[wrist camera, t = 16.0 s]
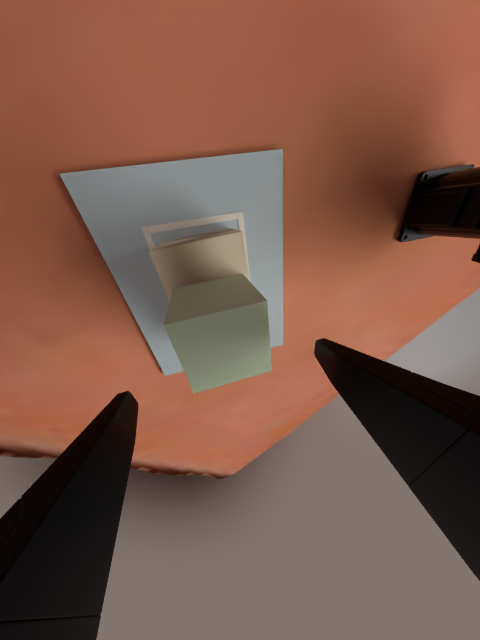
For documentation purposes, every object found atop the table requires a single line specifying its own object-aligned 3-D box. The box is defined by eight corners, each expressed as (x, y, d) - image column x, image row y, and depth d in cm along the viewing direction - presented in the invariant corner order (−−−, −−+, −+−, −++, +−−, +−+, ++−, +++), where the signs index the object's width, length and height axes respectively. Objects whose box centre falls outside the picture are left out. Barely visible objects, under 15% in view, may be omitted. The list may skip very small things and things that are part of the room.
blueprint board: (279, 151, 14) (283, 148, 14) (281, 342, 25) (283, 345, 24) (64, 175, 12) (58, 173, 12) (165, 372, 23) (165, 376, 22)
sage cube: (242, 273, 13) (267, 300, 9) (250, 329, 15) (271, 370, 11) (173, 288, 12) (163, 325, 8) (193, 343, 15) (194, 393, 11)
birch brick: (228, 227, 16) (242, 231, 11) (245, 321, 21) (259, 346, 17) (161, 242, 15) (148, 251, 11) (196, 334, 20) (197, 365, 16)
